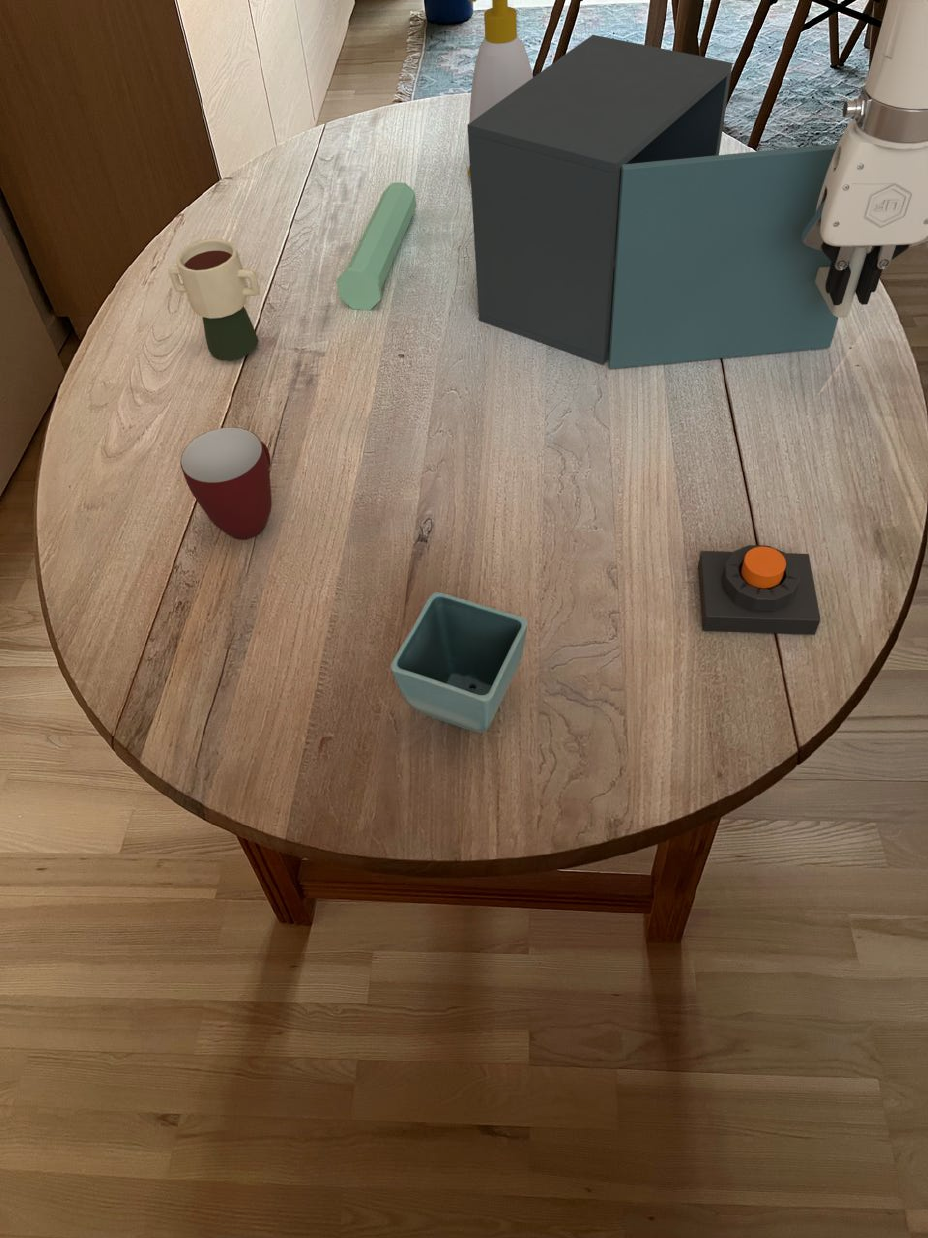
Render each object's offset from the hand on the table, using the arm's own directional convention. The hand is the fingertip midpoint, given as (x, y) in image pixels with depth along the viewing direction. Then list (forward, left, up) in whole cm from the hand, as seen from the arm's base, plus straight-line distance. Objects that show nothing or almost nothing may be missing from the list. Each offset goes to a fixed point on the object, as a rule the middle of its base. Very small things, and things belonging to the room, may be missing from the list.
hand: (847, 296), depth 97 cm
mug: (+61, +22, -12) cm, 66 cm away
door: (+10, -2, -12) cm, 16 cm away
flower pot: (+36, +44, -12) cm, 58 cm away
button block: (+10, +31, -12) cm, 35 cm away
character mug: (+70, -7, -12) cm, 72 cm away
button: (+10, +31, -8) cm, 34 cm away
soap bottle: (+39, -50, -12) cm, 64 cm away
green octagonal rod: (+54, -28, -12) cm, 62 cm away
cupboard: (+26, -20, -12) cm, 34 cm away
